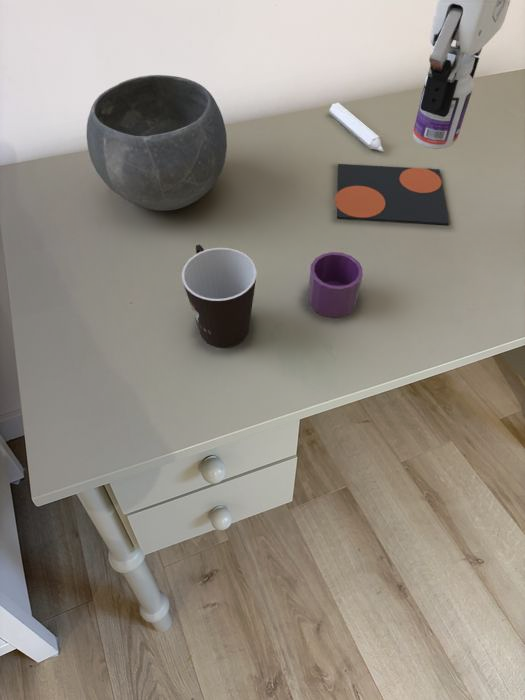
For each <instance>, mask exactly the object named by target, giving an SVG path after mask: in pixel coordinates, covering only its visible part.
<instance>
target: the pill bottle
mask: <svg viewBox="0 0 525 700" xmlns="http://www.w3.org/2000/svg"><path fill="white" fill-rule="evenodd" d="M455 56H456V55H454V54H450V53H448V58H447V60H450V61H451V66H452V65H453V62H454V59H455ZM475 57H476V56H475V55H472V56H467V53H465V54H464V56H463V59H462V62H461V65H460V67H459V70H458V73H457V76H456V78H455V80H458V83H457V86H456V90H455V93H454V96H453V100H452V103H451V107H450V110H449V113H448V115H447V116H446V117H441V116H438V115H435V114H432V113H429V112H426V111H423V110H421V102H422V98H423V94H424V90H425V86H426V82H427V78H428V75H427V76H426V77H425V80H424V84H423V89H422V93H421V97H420V101H419V105H418V109H417V115H416V118H415V122H414V125H413V131H412V136H413V139H414V141H415V142H416V143H418V144H419V145H421V146H423V147H425V148H428V149H433V150H444V149H447V148H450V147H453V145H454V144H455V143H456V142H457V140H458V138H459V134H460V132H461V128H462V125H463V121H464V118H465V116H466V113H467V112H466V111H467V109H468V105H469V102H470V99H471V96H472V92H473V90H474V85H475V84H474V78H473V79H472V77H471V76H470V75H469V74H470V73H471V72H472V69H473V65H474V61H475Z"/></svg>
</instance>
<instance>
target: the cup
mask: <svg viewBox="0 0 525 700" xmlns="http://www.w3.org/2000/svg"><path fill="white" fill-rule="evenodd" d="M363 271H364V269H363V267H362V265H361V263H360V262H359V260H358V259H356V258H355V257H353V256H352V255H350V254H347V253H345V252H336V251H330V252H325V253H322V254H320V255H318V256H316V257H315V258H314V260H313V261H312V262H311V263H310V270H309V281H308V292H307V301H308V304H309V306H310V308H311V309H312V310H313V311H315V312H316V313H317V314H319V315H321V316H324V317H328V318H342V317H345V316H347V315H349V314H350V313H352V312H353V311H354V309H355V308H356V306H357V302H358V299H359V295H360V291H361V285H362V281H363V275H364V274H363Z"/></svg>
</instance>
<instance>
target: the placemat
mask: <svg viewBox="0 0 525 700" xmlns="http://www.w3.org/2000/svg"><path fill="white" fill-rule="evenodd" d="M337 165H338V166H337V193H336V194H335V197H334V204H335V206H336V210H337V213H336V215H337V216H336V219H339V220H356V221H373V222H389V223H390V222H391V223H407V224H422V225H437V226H449V225H450V221H449V214H448V210H447V204H446V199H445V191H444V188H443V181H442V176H441V170H440V169H439V168H422V167H403V166H386V165H385V166H384V165H367V164H366V165H365V164H347V163H338V164H337Z"/></svg>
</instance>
